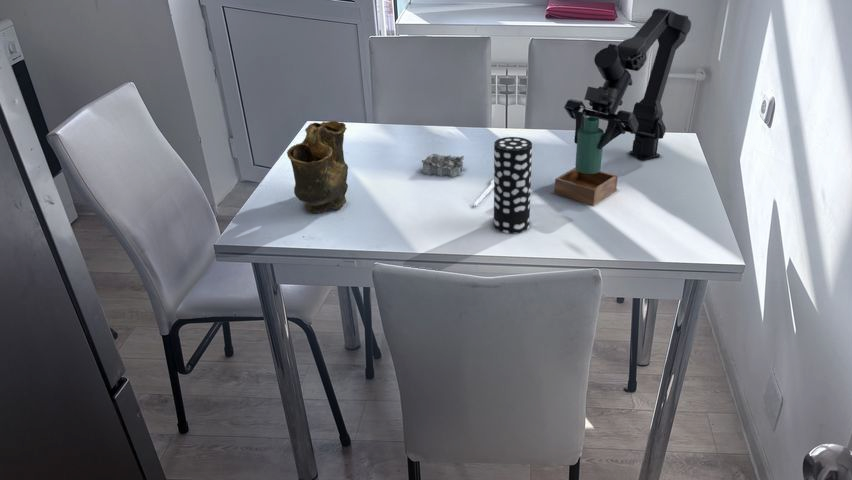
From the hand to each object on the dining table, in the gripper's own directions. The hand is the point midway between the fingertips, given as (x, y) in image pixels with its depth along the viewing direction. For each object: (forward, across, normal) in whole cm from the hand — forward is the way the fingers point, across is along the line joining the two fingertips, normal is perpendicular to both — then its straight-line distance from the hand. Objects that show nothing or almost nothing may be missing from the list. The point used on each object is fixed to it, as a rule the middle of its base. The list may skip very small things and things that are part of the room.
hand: (586, 145), depth 172 cm
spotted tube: (+27, -4, -9) cm, 29 cm away
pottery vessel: (+41, -47, -23) cm, 66 cm away
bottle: (+4, 0, +6) cm, 7 cm away
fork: (+19, -20, -1) cm, 27 cm away
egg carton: (+17, -38, +1) cm, 41 cm away
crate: (+8, 0, +10) cm, 13 cm away
